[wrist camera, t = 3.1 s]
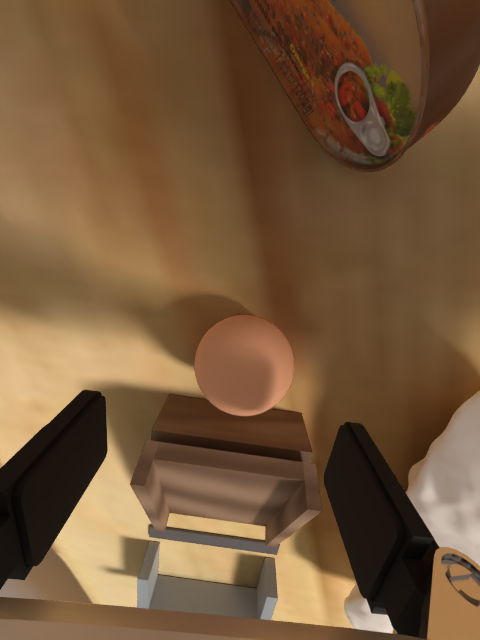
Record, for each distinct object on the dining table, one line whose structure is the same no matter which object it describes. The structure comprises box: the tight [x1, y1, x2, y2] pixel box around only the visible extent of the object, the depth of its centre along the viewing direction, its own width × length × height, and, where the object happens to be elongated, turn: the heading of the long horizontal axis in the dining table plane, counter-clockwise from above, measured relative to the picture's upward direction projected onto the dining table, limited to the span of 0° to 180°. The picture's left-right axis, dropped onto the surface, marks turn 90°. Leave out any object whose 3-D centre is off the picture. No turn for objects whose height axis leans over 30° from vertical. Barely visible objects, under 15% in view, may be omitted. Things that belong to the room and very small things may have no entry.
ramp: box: [130, 395, 322, 547], centre depth 19 cm, size 13×11×7 cm
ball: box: [195, 315, 294, 416], centre depth 15 cm, size 6×6×6 cm
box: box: [137, 525, 280, 620], centre depth 24 cm, size 9×13×5 cm
